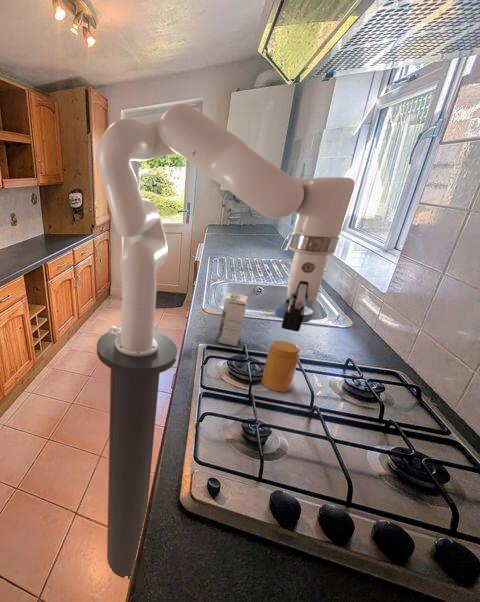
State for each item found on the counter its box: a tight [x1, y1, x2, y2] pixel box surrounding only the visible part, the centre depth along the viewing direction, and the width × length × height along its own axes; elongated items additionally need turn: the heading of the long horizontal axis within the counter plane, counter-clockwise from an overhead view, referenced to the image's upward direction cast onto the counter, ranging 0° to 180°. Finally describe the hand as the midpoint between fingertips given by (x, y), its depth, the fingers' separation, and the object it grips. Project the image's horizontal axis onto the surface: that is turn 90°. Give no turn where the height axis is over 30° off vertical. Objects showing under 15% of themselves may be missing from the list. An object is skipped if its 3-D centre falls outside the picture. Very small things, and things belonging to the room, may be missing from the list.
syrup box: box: [216, 293, 249, 347], centre depth 90 cm, size 6×6×14 cm
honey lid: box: [274, 302, 314, 324], centre depth 66 cm, size 7×7×2 cm
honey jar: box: [260, 340, 301, 393], centre depth 71 cm, size 6×6×11 cm
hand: (290, 322), depth 67 cm, fingers closed on honey lid, 6 cm apart
